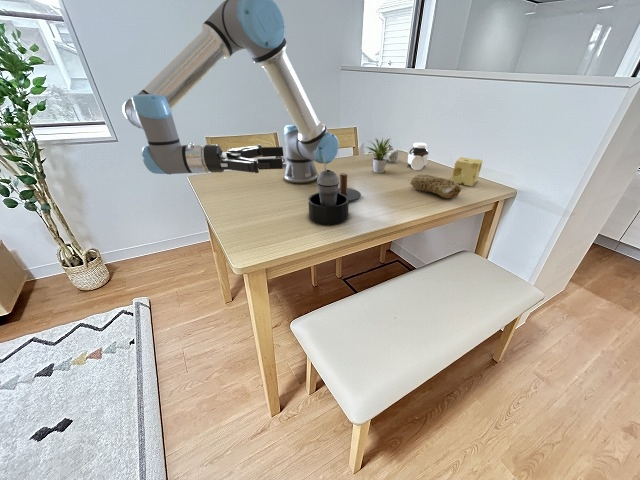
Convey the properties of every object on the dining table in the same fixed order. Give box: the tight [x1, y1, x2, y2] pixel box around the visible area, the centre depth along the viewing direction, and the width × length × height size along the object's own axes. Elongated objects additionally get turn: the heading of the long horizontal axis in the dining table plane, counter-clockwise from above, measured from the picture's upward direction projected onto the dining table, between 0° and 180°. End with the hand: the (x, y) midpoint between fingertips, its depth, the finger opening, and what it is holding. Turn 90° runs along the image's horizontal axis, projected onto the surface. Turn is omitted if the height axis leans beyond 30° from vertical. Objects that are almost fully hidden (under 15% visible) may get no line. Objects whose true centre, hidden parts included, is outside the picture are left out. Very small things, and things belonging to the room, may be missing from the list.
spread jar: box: [407, 142, 429, 171], centre depth 145 cm, size 12×11×12 cm
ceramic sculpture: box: [373, 145, 400, 164], centre depth 156 cm, size 11×9×15 cm
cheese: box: [450, 156, 484, 187], centre depth 129 cm, size 10×11×10 cm
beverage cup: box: [316, 155, 340, 206], centre depth 90 cm, size 7×7×20 cm
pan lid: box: [337, 172, 362, 203], centre depth 110 cm, size 14×14×9 cm
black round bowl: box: [307, 192, 350, 226], centre depth 95 cm, size 13×13×6 cm
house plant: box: [365, 137, 392, 174], centre depth 138 cm, size 14×14×16 cm
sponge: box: [410, 174, 462, 199], centre depth 117 cm, size 13×8×20 cm
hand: (282, 157), depth 82 cm, fingers open, 13 cm apart
